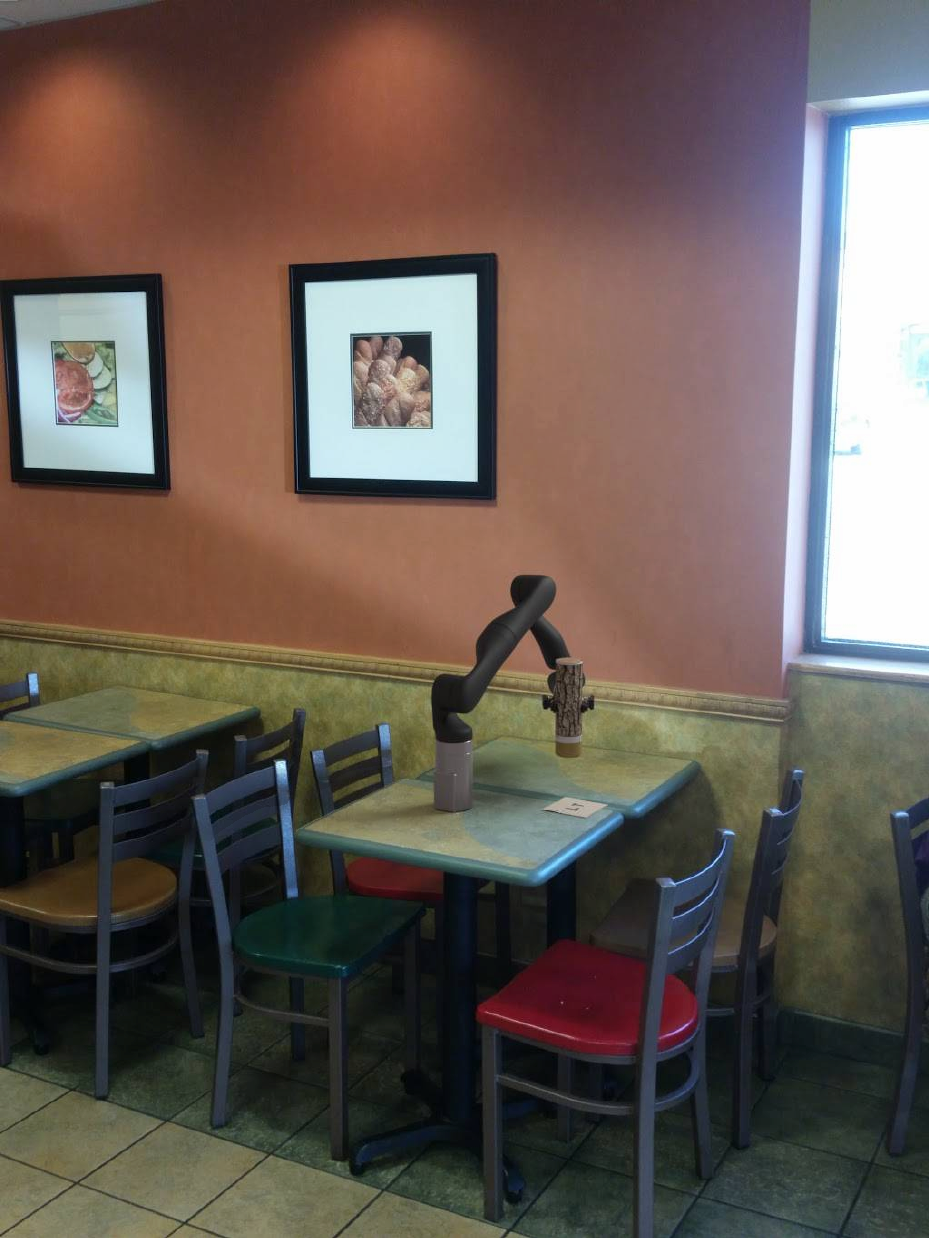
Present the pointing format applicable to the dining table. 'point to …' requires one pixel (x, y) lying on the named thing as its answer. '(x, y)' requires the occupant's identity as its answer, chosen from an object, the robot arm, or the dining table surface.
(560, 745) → the brown bark cylinder
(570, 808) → the card
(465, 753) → the robot arm
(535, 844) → the dining table surface
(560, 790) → the dining table surface
